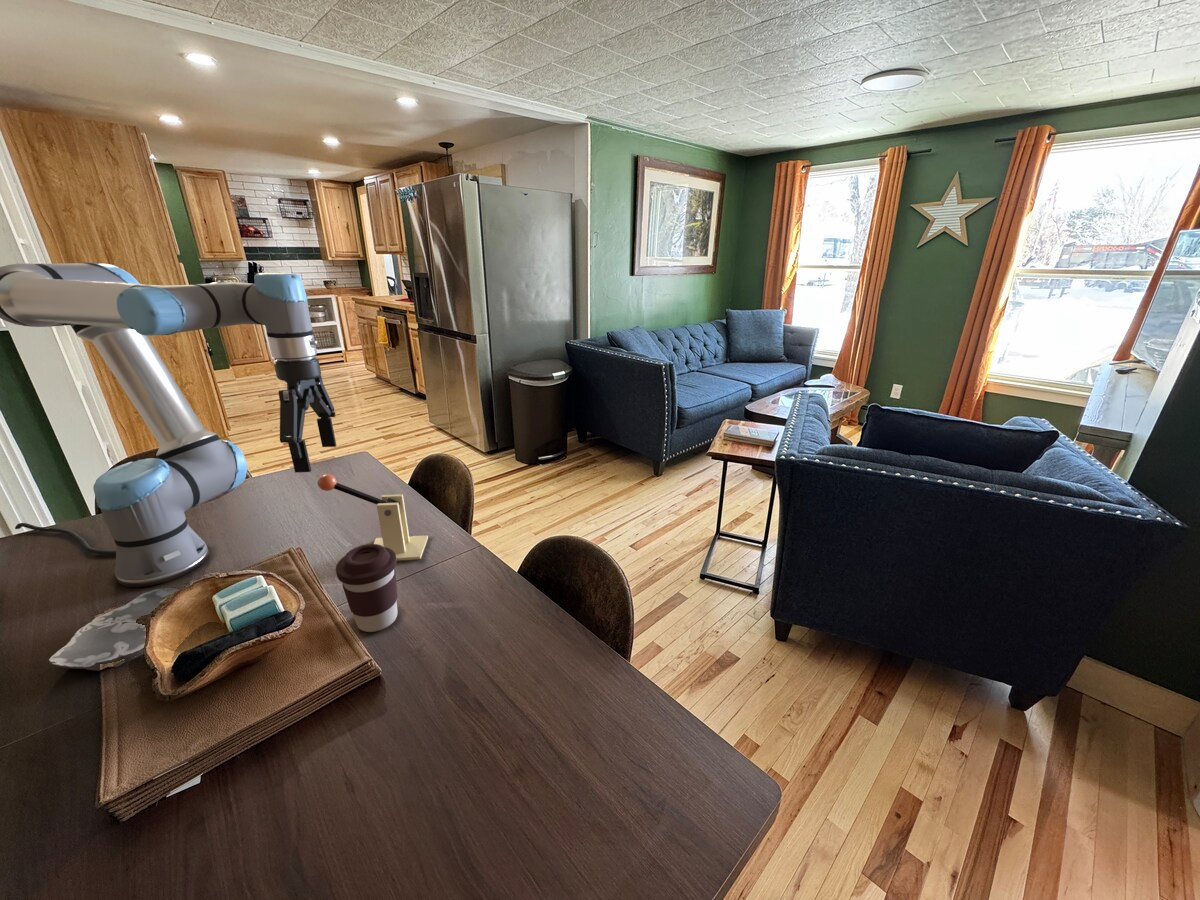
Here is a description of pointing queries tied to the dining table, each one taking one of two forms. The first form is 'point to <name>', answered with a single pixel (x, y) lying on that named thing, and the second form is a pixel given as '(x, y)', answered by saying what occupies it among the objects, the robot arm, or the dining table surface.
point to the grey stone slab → (111, 635)
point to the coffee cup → (370, 585)
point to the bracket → (398, 530)
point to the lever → (348, 489)
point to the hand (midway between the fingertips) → (317, 458)
